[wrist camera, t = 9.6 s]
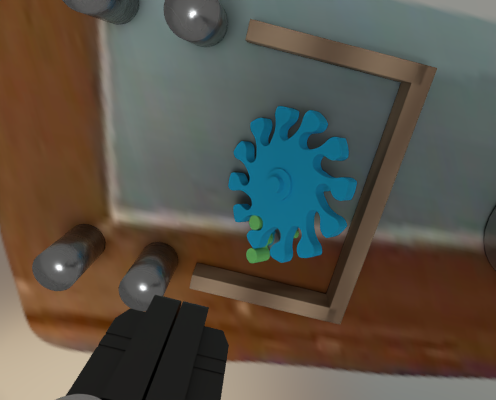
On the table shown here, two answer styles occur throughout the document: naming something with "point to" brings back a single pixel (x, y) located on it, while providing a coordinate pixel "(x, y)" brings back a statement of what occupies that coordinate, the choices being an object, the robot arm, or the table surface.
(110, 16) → the spacers
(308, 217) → the gear
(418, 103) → the frame
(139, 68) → the table surface
